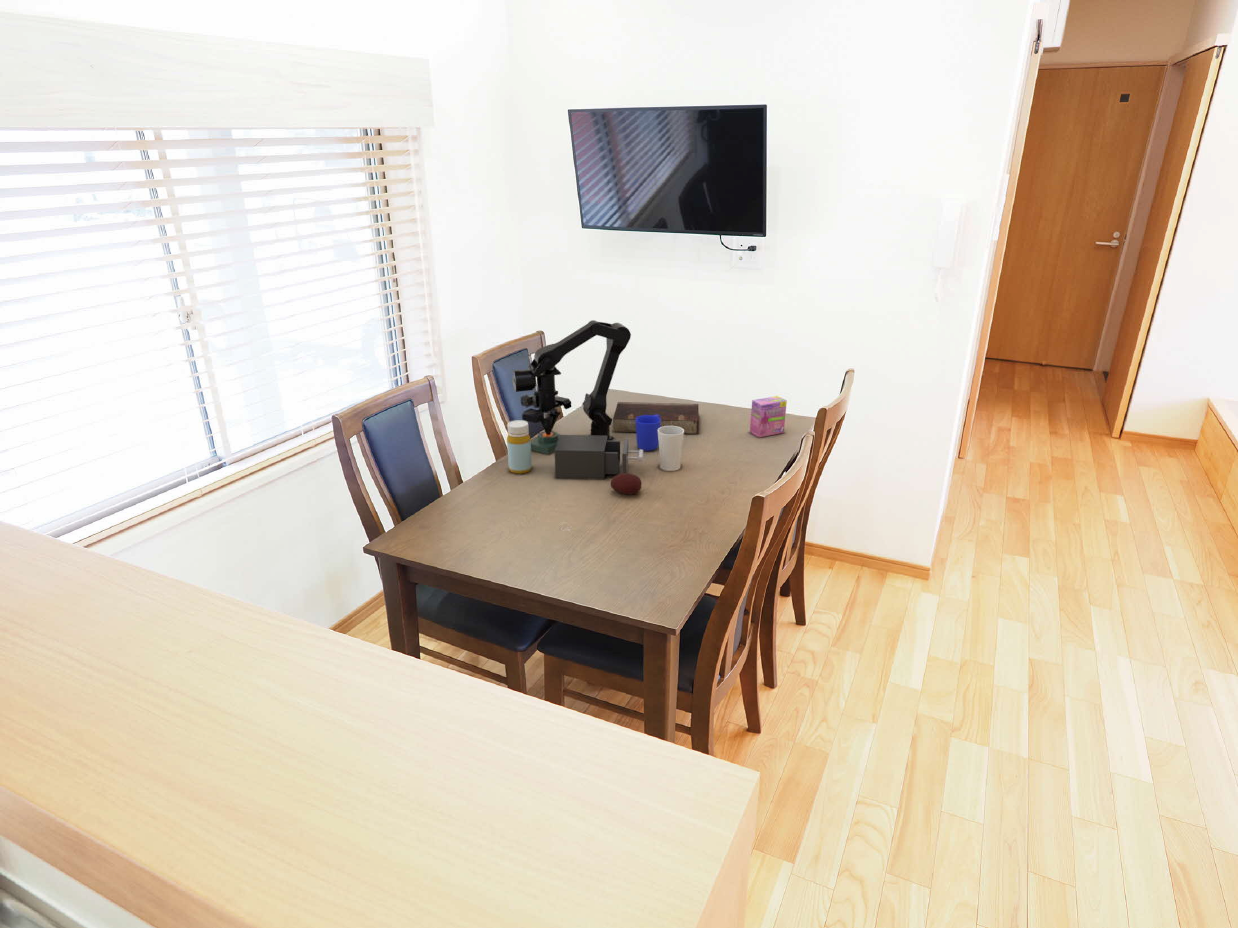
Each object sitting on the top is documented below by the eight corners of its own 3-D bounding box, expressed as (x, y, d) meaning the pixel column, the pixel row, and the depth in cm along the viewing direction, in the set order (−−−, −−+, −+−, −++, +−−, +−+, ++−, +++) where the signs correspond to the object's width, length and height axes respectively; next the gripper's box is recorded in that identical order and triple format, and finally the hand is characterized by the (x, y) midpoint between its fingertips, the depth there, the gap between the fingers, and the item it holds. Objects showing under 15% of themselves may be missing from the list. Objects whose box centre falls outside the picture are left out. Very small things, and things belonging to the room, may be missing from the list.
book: (697, 415, 283) (698, 402, 281) (698, 434, 266) (698, 420, 264) (617, 413, 286) (617, 400, 284) (613, 432, 268) (613, 418, 266)
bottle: (528, 475, 236) (525, 428, 230) (505, 473, 237) (502, 427, 231) (534, 466, 242) (532, 420, 236) (513, 464, 243) (510, 419, 237)
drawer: (643, 461, 243) (643, 439, 240) (642, 476, 232) (642, 454, 229) (585, 460, 244) (584, 438, 241) (581, 475, 234) (580, 452, 231)
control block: (549, 437, 264) (548, 426, 263) (570, 442, 260) (570, 431, 258) (526, 448, 255) (525, 437, 254) (547, 454, 251) (547, 443, 249)
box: (758, 438, 263) (761, 404, 258) (749, 432, 268) (751, 399, 263) (784, 433, 267) (787, 400, 262) (774, 427, 272) (777, 395, 267)
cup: (675, 474, 236) (676, 437, 231) (652, 468, 240) (652, 431, 235) (687, 465, 242) (688, 428, 238) (664, 459, 246) (665, 423, 242)
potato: (634, 501, 219) (634, 481, 217) (606, 495, 223) (606, 475, 221) (646, 490, 226) (646, 471, 223) (618, 485, 229) (618, 466, 227)
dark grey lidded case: (607, 462, 244) (607, 435, 241) (604, 479, 233) (604, 451, 229) (561, 461, 245) (560, 434, 242) (555, 478, 234) (554, 450, 230)
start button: (547, 436, 259) (547, 431, 258) (556, 438, 257) (555, 433, 256) (540, 439, 256) (540, 434, 255) (549, 442, 254) (548, 437, 254)
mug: (668, 441, 260) (669, 413, 256) (654, 454, 250) (655, 425, 246) (645, 438, 263) (646, 410, 260) (631, 450, 253) (631, 421, 249)
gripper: (544, 377, 261) (546, 421, 267) (507, 391, 247) (510, 438, 253) (571, 382, 255) (572, 427, 261) (534, 398, 241) (537, 445, 247)
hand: (548, 434), depth 256 cm, fingers closed, pressing on start button
